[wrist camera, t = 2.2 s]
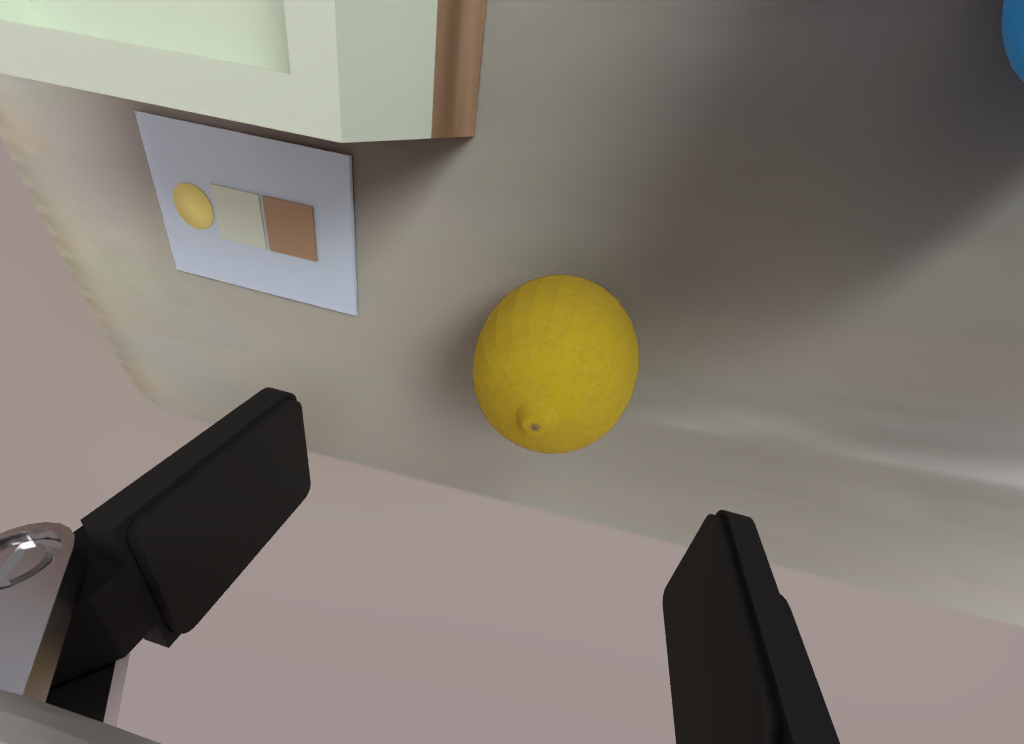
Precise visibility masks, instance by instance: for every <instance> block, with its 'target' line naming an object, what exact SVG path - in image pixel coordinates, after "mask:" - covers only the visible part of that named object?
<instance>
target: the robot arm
mask: <svg viewBox="0 0 1024 744" xmlns="http://www.w3.org/2000/svg"><path fill="white" fill-rule="evenodd" d="M310 484H311V483H310V474H309V466H308V457H307V448H306V440H305V431H304V423H303V414H302V406H301V404H300V402H298V401H297V399H296V396H295V395H294V394H292V393H289V392H285V391H281V390H278V389H274V388H270V387H269V388H265V389H263V390H261V391H260V392H258V393H257V394H255V395H254V396H253V397H251V398H250V399H248V400H247V401H246V402H244V403H243V404H241V405H240V406H239V407H237V408H236V409H235V410H233V411H232V412H230V413H229V414H228V415H226V416H225V417H223V418H222V419H221V420H219V421H218V422H216V423H215V424H214V425H212V426H211V427H210V428H208V429H207V430H205V431H204V432H202V433H201V434H200V435H198V436H197V437H196V438H194V439H193V440H191V441H190V442H189V443H187V444H186V445H184V446H183V447H182V448H180V449H179V450H177V451H176V452H175V453H173V454H172V455H171V456H169V457H168V458H166V459H165V460H163V461H162V462H161V463H159V464H158V465H156V466H155V467H154V468H152V469H151V470H150V471H148V472H147V473H145V474H144V475H143V476H141V477H140V478H139V479H137V480H136V481H134V482H133V483H131V484H130V485H129V486H127V487H126V488H124V489H123V490H122V491H120V492H119V493H117V494H116V495H115V496H113V497H112V498H111V499H109V500H108V501H106V502H105V503H104V504H102V505H101V506H99V507H98V508H97V509H95V510H94V511H93V512H91V513H90V514H88V515H87V516H85V517H84V518H83V519H81V522H82V524H83V526H82V527H80V528H79V529H77V530H76V531H75V532H72V530H71V529H70V528H69V527H67V526H65V525H63V524H60V523H50V522H43V523H34V524H28V525H24V526H21V527H17V528H14V529H10V530H7V531H5V532H3V533H1V534H0V744H160V743H157V742H155V741H152V740H149V739H146V738H144V737H141V736H138V735H136V734H133V733H130V732H128V731H125V730H122V729H119V728H117V727H116V725H117V720H118V714H119V709H120V704H121V699H122V693H123V688H124V683H125V677H126V672H127V666H128V661H129V656H130V651H131V650H132V649H133V648H134V647H135V646H136V645H137V644H138V643H139V642H140V641H141V640H142V639H143V638H144V639H145V640H148V641H151V642H154V643H157V644H160V645H162V646H165V647H168V648H169V647H170V646H171V645H172V643H173V642H174V641H175V640H176V639H177V638H178V637H179V636H180V634H181V633H182V634H184V633H187V632H189V631H190V630H191V629H193V628H194V627H195V626H196V625H197V624H198V623H199V621H200V620H201V619H202V618H203V616H205V614H206V613H207V612H208V611H209V610H210V609H211V607H212V606H213V605H214V604H215V603H216V602H217V600H218V599H219V598H220V597H221V596H222V595H223V593H224V592H225V591H226V590H227V589H228V588H229V587H230V585H231V584H232V583H233V582H234V581H235V579H236V578H237V577H238V576H239V575H240V574H241V573H242V571H243V570H244V569H245V568H246V567H247V566H248V564H249V563H250V562H251V561H252V560H253V559H254V557H255V556H256V555H257V554H258V552H260V550H261V549H262V548H263V547H264V546H265V544H266V543H267V542H268V541H269V540H270V539H271V538H272V536H273V535H274V534H275V533H276V532H277V531H278V529H279V528H280V527H281V526H282V525H283V524H284V522H285V521H286V520H287V519H288V518H289V517H290V515H291V514H292V513H293V512H294V511H295V510H296V508H297V507H298V506H299V505H300V504H301V502H302V501H303V500H304V499H305V498H306V496H307V494H308V492H309V490H310ZM663 613H664V624H665V634H666V644H667V654H668V665H669V674H670V685H671V694H672V705H673V716H674V726H675V736H676V744H840V742H839V739H838V737H837V734H836V731H835V729H834V726H833V723H832V720H831V718H830V715H829V712H828V709H827V707H826V704H825V701H824V698H823V696H822V693H821V691H820V688H819V685H818V682H817V679H816V677H815V674H814V671H813V668H812V666H811V663H810V660H809V658H808V655H807V652H806V649H805V647H804V644H803V641H802V639H801V636H800V633H799V630H798V627H797V625H796V622H795V619H794V617H793V614H792V611H791V609H790V607H789V605H788V603H787V601H786V599H785V598H784V597H783V596H782V595H781V594H780V593H779V591H778V588H777V585H776V582H775V579H774V577H773V574H772V571H771V568H770V565H769V562H768V560H767V557H766V554H765V551H764V548H763V546H762V543H761V540H760V537H759V534H758V531H757V529H756V526H755V523H754V521H753V520H752V519H751V518H750V517H747V516H743V515H740V514H736V513H732V512H729V511H725V510H720V511H718V512H717V513H716V515H713V514H709V515H708V516H707V517H706V519H705V520H704V522H703V524H702V525H701V527H700V529H699V531H698V532H697V534H696V536H695V538H694V539H693V541H692V543H691V544H690V546H689V548H688V550H687V551H686V553H685V555H684V557H683V558H682V560H681V562H680V563H679V565H678V567H677V569H676V570H675V572H674V574H673V576H672V577H671V579H670V581H669V583H668V584H667V586H666V588H665V590H664V594H663Z"/></svg>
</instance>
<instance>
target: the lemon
mask: <svg viewBox="0 0 1024 744" xmlns="http://www.w3.org/2000/svg"><path fill="white" fill-rule="evenodd" d="M638 371H639V350H638V340H637V337H636V334H635V331H634V328H633V325H632V322H631V319H630V317H629V316H628V314H627V313H626V311H625V310H624V308H623V307H622V305H621V304H620V302H619V301H618V300H617V299H616V298H615V297H614V296H612V295H611V294H610V293H609V292H608V291H607V290H605V289H604V288H603V287H602V286H600V285H598V284H596V283H593V282H591V281H589V280H587V279H585V278H580V277H575V276H571V275H549V276H544V277H541V278H538V279H534V280H531V281H528V282H526V283H525V284H523V285H521V286H520V287H518V288H516V289H515V290H513V291H512V292H510V293H509V294H507V295H506V296H505V298H504V299H503V300H502V301H501V302H500V303H499V304H498V305H497V306H496V307H495V308H494V309H493V310H492V312H491V313H490V315H489V316H488V318H487V320H486V322H485V324H484V326H483V328H482V330H481V332H480V335H479V337H478V340H477V345H476V350H475V356H474V361H473V381H474V390H475V395H476V397H477V400H478V403H479V405H480V408H481V410H482V412H483V414H484V415H485V416H486V418H487V419H488V421H489V422H490V424H491V425H492V426H493V427H494V428H495V429H496V430H497V431H498V432H499V433H500V434H501V435H502V436H503V437H505V438H507V439H508V440H510V441H511V442H513V443H515V444H516V445H518V446H521V447H523V448H526V449H529V450H531V451H537V452H542V453H566V452H570V451H574V450H578V449H581V448H583V447H585V446H587V445H589V444H591V443H593V442H595V441H597V440H599V439H600V438H601V437H602V436H603V435H604V434H605V433H606V432H608V431H609V430H610V429H611V428H612V427H613V426H614V425H615V424H616V422H617V421H618V419H619V418H620V416H621V415H622V413H623V411H624V410H625V408H626V407H627V405H628V403H629V401H630V399H631V396H632V394H633V390H634V386H635V382H636V379H637V375H638Z"/></svg>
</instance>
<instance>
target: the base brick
mask: <svg viewBox="0 0 1024 744" xmlns="http://www.w3.org/2000/svg"><path fill="white" fill-rule="evenodd" d="M486 6H487V0H438V5H437V26H436V47H435V67H434V88H433V109H432V129H431V138H449V137H469V136H474V133H475V122H476V112H477V101H478V91H479V80H480V69H481V59H482V48H483V38H484V27H485V17H486Z"/></svg>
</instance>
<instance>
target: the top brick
mask: <svg viewBox="0 0 1024 744" xmlns="http://www.w3.org/2000/svg"><path fill="white" fill-rule="evenodd" d="M437 5H438V0H0V73H3V74H8V75H13V76H17V77H22V78H27V79H32V80H37V81H42V82H47V83H52V84H56V85H61V86H66V87H71V88H76V89H81V90H86V91H91V92H95V93H100V94H105V95H110V96H115V97H120V98H125V99H130V100H135V101H139V102H144V103H149V104H154V105H159V106H164V107H169V108H174V109H178V110H183V111H188V112H193V113H198V114H203V115H208V116H213V117H218V118H222V119H227V120H232V121H237V122H242V123H247V124H252V125H257V126H261V127H266V128H271V129H276V130H281V131H286V132H291V133H296V134H300V135H305V136H310V137H315V138H320V139H325V140H330V141H335V142H340V143H350V142H370V141H390V140H410V139H429V138H431V129H432V109H433V88H434V67H435V47H436V26H437Z"/></svg>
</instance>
